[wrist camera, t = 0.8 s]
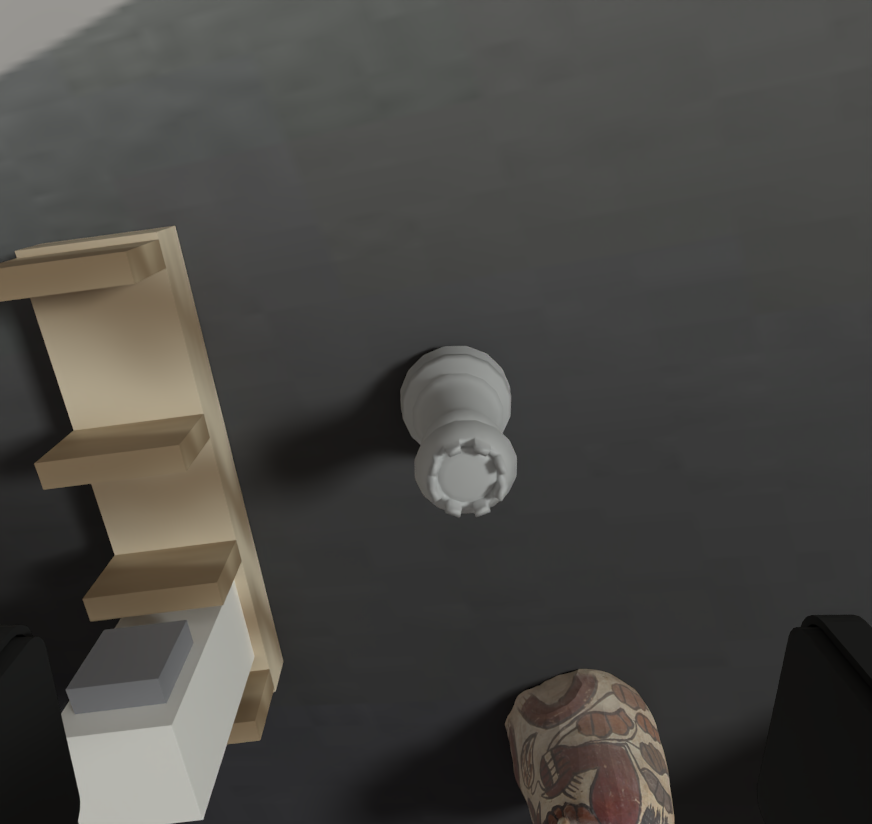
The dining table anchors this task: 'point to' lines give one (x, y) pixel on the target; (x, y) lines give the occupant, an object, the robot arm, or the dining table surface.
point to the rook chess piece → (460, 429)
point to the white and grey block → (156, 713)
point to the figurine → (588, 753)
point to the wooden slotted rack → (147, 437)
